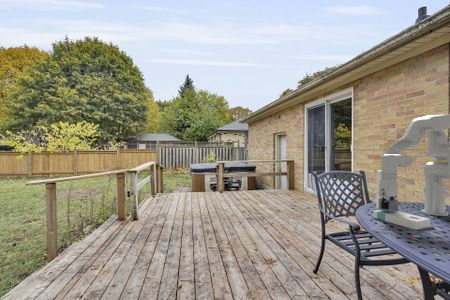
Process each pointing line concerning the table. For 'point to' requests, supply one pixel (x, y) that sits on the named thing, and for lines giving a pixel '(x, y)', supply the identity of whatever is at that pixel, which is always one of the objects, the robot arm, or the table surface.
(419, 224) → the docking board
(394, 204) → the grey rectangular block
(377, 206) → the cylindrical container
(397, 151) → the robot arm
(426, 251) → the table surface
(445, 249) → the table surface
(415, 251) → the table surface
